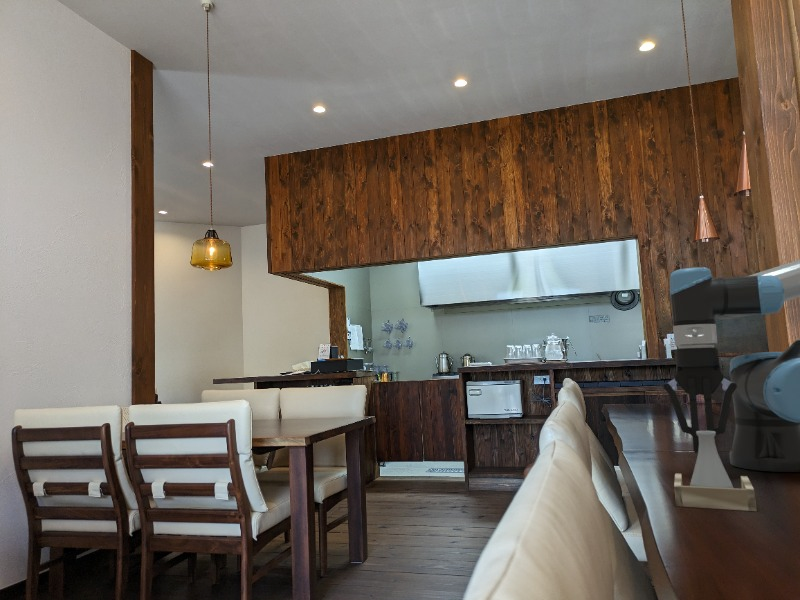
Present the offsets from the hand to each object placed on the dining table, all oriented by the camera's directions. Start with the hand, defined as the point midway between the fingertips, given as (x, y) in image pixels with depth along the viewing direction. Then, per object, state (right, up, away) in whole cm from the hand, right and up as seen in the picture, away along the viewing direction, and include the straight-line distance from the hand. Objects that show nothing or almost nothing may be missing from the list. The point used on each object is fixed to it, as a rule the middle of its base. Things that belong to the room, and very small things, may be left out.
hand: (706, 470), depth 110 cm
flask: (-4, -1, -8) cm, 9 cm away
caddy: (-7, 0, -16) cm, 17 cm away
